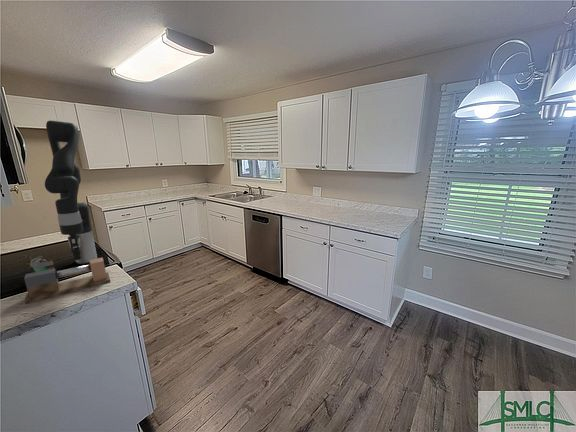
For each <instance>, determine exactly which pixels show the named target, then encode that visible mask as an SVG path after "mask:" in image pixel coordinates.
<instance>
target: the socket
mask: <svg viewBox="0 0 576 432" xmlns="http://www.w3.org/2000/svg"><path fill="white" fill-rule="evenodd" d="M89 264H90V266H91V271H90V272H91V276H93V281H98V280H102V279H106V278H107V276H106V272H107V271H106V266H105V262H104V258H103V257H97V259H93V260H90V262H89Z"/></svg>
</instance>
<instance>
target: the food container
mask: <svg viewBox="0 0 576 432" xmlns="http://www.w3.org/2000/svg"><path fill="white" fill-rule="evenodd" d="M54 264H55V263H54V261H53V259H52V260H49V259H48V258H45V257H43V255H40V256H37V257H35V258H33V259H31V260H30V263H29V266H30V267H32V268H33V271H34V272H39V271H44V270H48V269H53V268H55V267H54V266H55V265H54Z"/></svg>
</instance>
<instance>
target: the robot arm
mask: <svg viewBox="0 0 576 432" xmlns="http://www.w3.org/2000/svg"><path fill="white" fill-rule="evenodd" d="M45 129H46V133H47V139H48V141H49V146H50V150H51V153H52V154H51V155H52V165H51V169H50V172H49V173H48V174H47V177H46V178H45V180H44V188H45V190H46V191H47V192H48V193H50V194H59V195H60V196H59V197H60V198H59V199H56V200H55V208H56V213H57V221H58V225H59V230H60V234H61V235H63V236H67V235H68V236H67V242H68V244H69V248H70V249H71V251H70V252H71V253H72V256H73V260H74V261H75V262H76V264H81V265H83V264H84V265H85V264H90V260H93V259H97V258H98V254H97V250H96V249H97V248H96V245H95V238H94V234H93V233H94V232H93V229H92V225H91V217H90V209H89V206H88V204H87V203H85V202H78V193H79V189H80V184H81V181H82V178H81V171H80V167H79V166H78V165H77V164H76V162H75V157H76V154H77V150H78V145H79V141H80V132H79V128H78V126H77V124H75V123H73V122H69V121H68V122H67V121H58V120H47V121H46V124H45ZM60 143H66V144H65V145H64V146H63V147H62V146H61V144H60Z"/></svg>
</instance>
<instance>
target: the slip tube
mask: <svg viewBox="0 0 576 432" xmlns="http://www.w3.org/2000/svg"><path fill="white" fill-rule="evenodd" d="M85 272H92V271H91V266H90V263H88V264H86V265H85V264H84V265H80V266H76V267H75V266H74V267H70V268H67V269H62V270H61V269H60V270H56V272H55V275H56V278H58V279H60V278H65V277H68V276H69V277H70V276H73V275H78V274H81V273H82V274H83V273H85Z"/></svg>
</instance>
